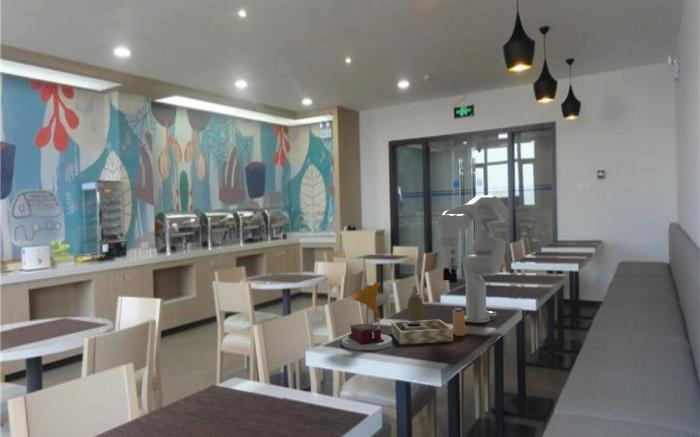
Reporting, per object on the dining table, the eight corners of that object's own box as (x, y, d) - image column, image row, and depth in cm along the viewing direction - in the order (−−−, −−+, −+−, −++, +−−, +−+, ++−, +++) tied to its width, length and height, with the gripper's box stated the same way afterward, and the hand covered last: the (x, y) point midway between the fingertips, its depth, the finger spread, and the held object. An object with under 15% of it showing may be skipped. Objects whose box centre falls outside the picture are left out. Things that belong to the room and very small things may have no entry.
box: (440, 330, 217) (439, 319, 217) (453, 341, 199) (452, 328, 199) (391, 333, 214) (391, 322, 214) (400, 344, 197) (400, 331, 196)
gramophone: (379, 335, 212) (377, 278, 212) (401, 346, 193) (399, 284, 193) (335, 341, 205) (333, 281, 205) (353, 353, 186) (351, 288, 186)
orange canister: (462, 332, 212) (461, 307, 212) (465, 335, 208) (464, 309, 208) (453, 333, 211) (452, 308, 211) (456, 335, 207) (455, 310, 207)
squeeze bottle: (424, 321, 236) (422, 284, 235) (424, 325, 228) (423, 287, 227) (407, 321, 236) (406, 284, 236) (407, 325, 228) (406, 287, 228)
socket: (421, 332, 211) (421, 322, 211) (427, 337, 202) (427, 326, 202) (401, 333, 210) (401, 323, 210) (406, 338, 201) (406, 328, 201)
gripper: (463, 243, 205) (464, 283, 205) (452, 241, 223) (452, 279, 222) (446, 243, 205) (446, 283, 204) (436, 241, 222) (436, 279, 222)
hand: (449, 281), depth 213 cm, fingers open, 9 cm apart
